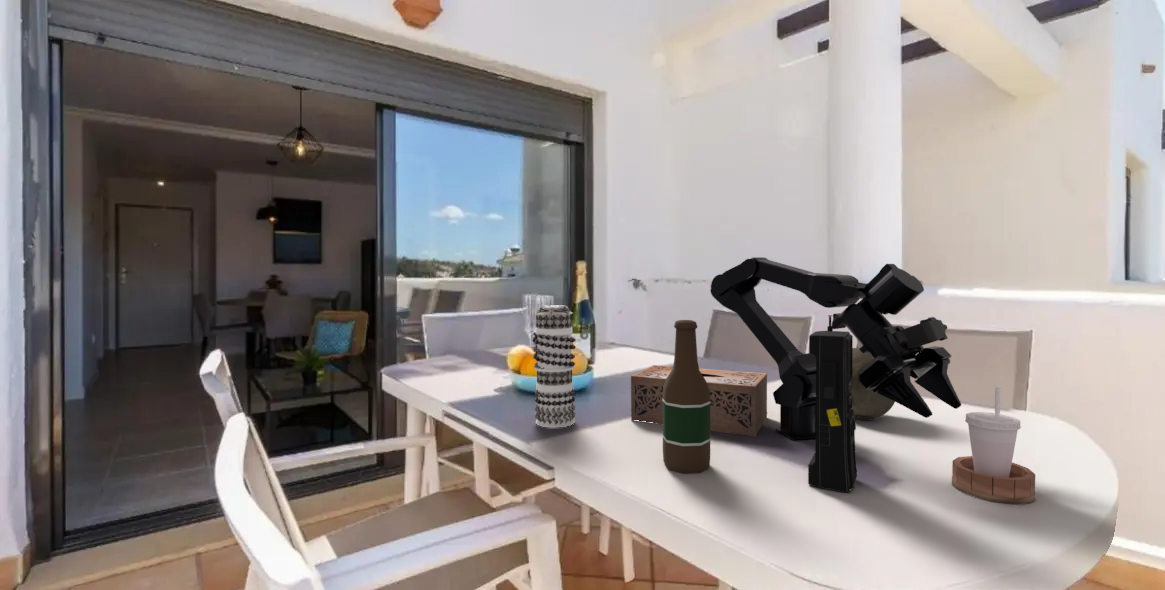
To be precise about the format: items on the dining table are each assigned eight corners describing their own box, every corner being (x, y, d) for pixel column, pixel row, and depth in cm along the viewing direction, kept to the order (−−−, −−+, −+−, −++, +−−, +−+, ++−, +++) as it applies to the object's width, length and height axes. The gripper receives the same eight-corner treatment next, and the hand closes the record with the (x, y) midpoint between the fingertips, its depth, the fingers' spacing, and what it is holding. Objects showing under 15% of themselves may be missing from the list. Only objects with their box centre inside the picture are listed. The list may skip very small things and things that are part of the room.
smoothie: (1018, 496, 73) (1020, 394, 73) (961, 484, 78) (963, 388, 77) (1020, 482, 78) (1022, 386, 78) (966, 471, 82) (968, 381, 82)
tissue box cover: (631, 422, 116) (630, 375, 115) (654, 406, 128) (653, 365, 128) (755, 437, 104) (755, 386, 103) (766, 419, 117) (767, 373, 116)
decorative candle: (524, 424, 113) (522, 306, 112) (551, 414, 121) (550, 304, 120) (559, 431, 108) (557, 307, 107) (585, 420, 116) (583, 305, 115)
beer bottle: (712, 460, 91) (712, 318, 90) (707, 476, 84) (707, 323, 83) (666, 455, 94) (666, 318, 93) (658, 471, 86) (657, 322, 85)
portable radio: (852, 497, 76) (854, 320, 74) (806, 488, 79) (807, 318, 78) (857, 478, 82) (859, 316, 81) (815, 471, 85) (816, 314, 84)
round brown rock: (915, 426, 109) (916, 352, 108) (845, 426, 109) (846, 353, 109) (878, 408, 123) (878, 343, 122) (816, 409, 123) (816, 344, 123)
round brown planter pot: (992, 506, 72) (993, 482, 72) (935, 479, 82) (936, 458, 81) (1054, 501, 74) (1054, 477, 73) (991, 475, 83) (991, 454, 83)
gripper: (879, 303, 81) (959, 389, 72) (939, 298, 91) (1016, 374, 82) (829, 348, 88) (897, 432, 79) (891, 339, 98) (957, 413, 89)
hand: (944, 411), depth 82 cm, fingers open, 9 cm apart
